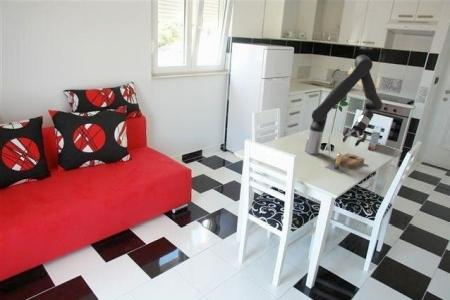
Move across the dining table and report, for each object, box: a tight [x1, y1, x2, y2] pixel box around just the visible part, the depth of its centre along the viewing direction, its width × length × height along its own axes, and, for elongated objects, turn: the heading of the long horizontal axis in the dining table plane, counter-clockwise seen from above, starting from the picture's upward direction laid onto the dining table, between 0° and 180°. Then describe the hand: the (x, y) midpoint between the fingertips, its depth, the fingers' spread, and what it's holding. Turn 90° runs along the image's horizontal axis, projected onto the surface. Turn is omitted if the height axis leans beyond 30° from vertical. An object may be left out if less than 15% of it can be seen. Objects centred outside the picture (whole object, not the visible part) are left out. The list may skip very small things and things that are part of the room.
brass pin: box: [334, 153, 343, 170], centre depth 204 cm, size 3×3×10 cm
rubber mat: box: [324, 163, 349, 175], centre depth 206 cm, size 12×10×1 cm
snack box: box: [367, 125, 383, 152], centre depth 251 cm, size 21×6×15 cm, turn 151°
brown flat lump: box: [334, 152, 365, 170], centre depth 217 cm, size 12×18×4 cm, turn 132°
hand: (349, 143), depth 207 cm, fingers open, 8 cm apart
